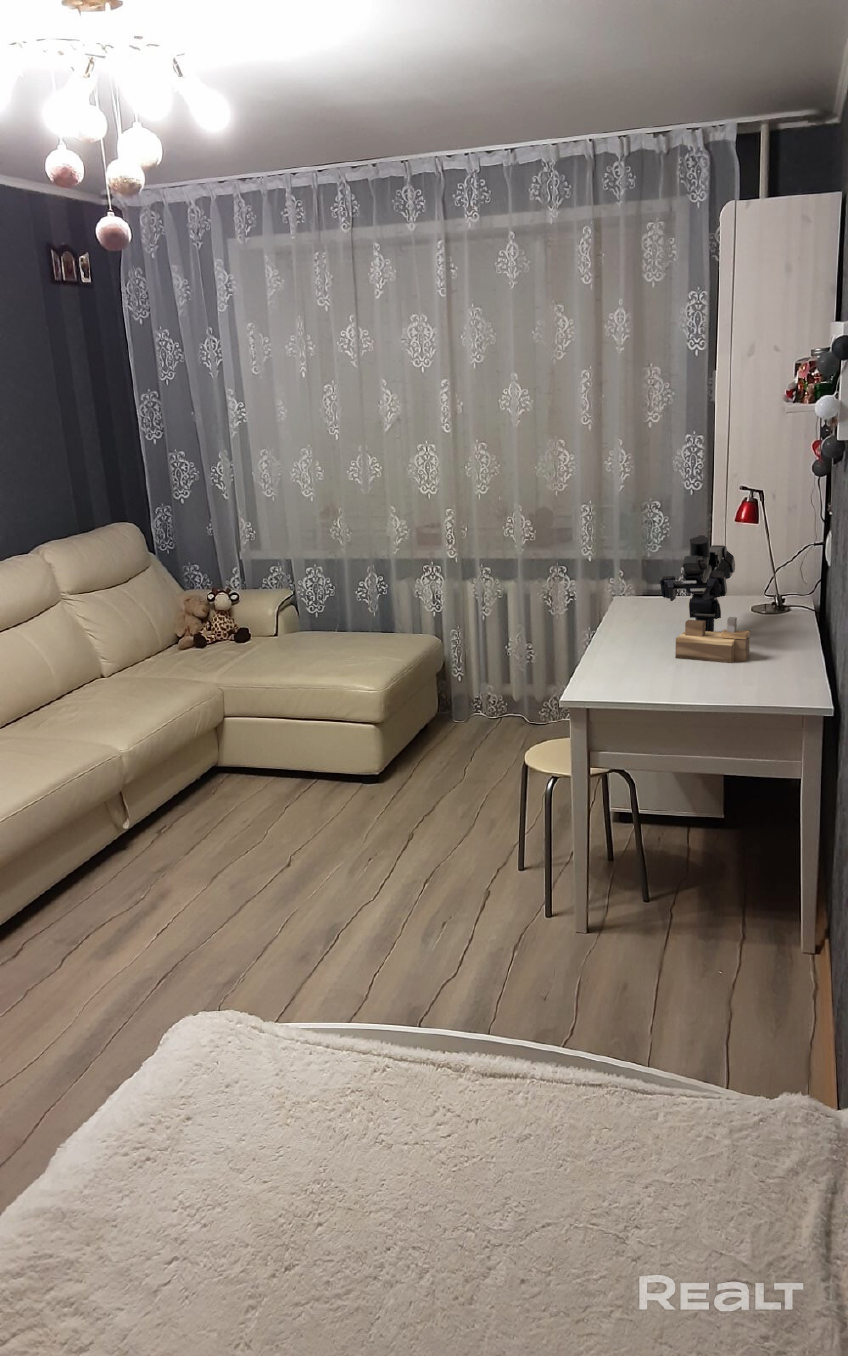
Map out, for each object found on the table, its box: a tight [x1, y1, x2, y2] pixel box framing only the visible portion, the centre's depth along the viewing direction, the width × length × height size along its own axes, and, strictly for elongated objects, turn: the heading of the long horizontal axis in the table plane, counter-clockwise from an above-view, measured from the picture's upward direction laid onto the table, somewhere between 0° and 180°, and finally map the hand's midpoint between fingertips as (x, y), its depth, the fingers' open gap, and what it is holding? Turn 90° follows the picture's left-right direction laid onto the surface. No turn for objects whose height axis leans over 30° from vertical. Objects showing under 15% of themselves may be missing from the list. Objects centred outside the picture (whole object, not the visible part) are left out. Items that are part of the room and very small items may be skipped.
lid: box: [675, 619, 735, 646], centre depth 304 cm, size 11×16×5 cm
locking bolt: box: [721, 616, 750, 639], centre depth 300 cm, size 4×7×6 cm, turn 60°
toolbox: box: [674, 636, 751, 664], centre depth 305 cm, size 11×19×6 cm, turn 60°
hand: (686, 599), depth 304 cm, fingers open, 9 cm apart
